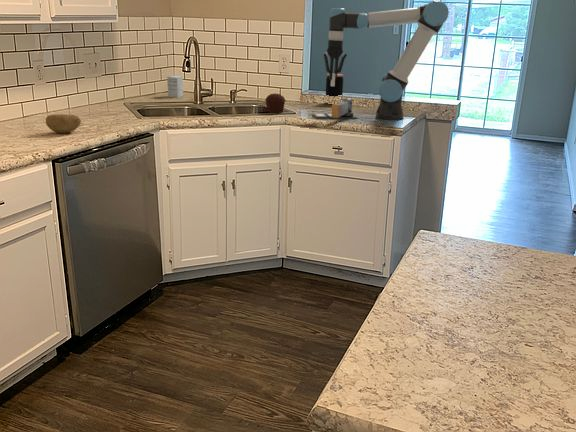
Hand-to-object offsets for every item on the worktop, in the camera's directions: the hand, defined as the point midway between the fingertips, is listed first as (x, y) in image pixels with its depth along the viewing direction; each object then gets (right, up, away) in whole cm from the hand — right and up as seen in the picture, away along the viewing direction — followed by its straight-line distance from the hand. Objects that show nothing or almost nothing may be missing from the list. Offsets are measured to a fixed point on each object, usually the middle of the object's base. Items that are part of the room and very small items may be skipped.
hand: (332, 86), depth 307 cm
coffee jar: (+5, +2, +58) cm, 58 cm away
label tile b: (-6, -16, +4) cm, 18 cm away
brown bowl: (-119, -34, -59) cm, 137 cm away
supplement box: (-96, +7, +62) cm, 114 cm away
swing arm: (+5, -15, -2) cm, 16 cm away
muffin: (-31, -11, +17) cm, 37 cm away
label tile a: (0, -16, +5) cm, 17 cm away
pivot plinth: (+8, -16, +7) cm, 19 cm away
